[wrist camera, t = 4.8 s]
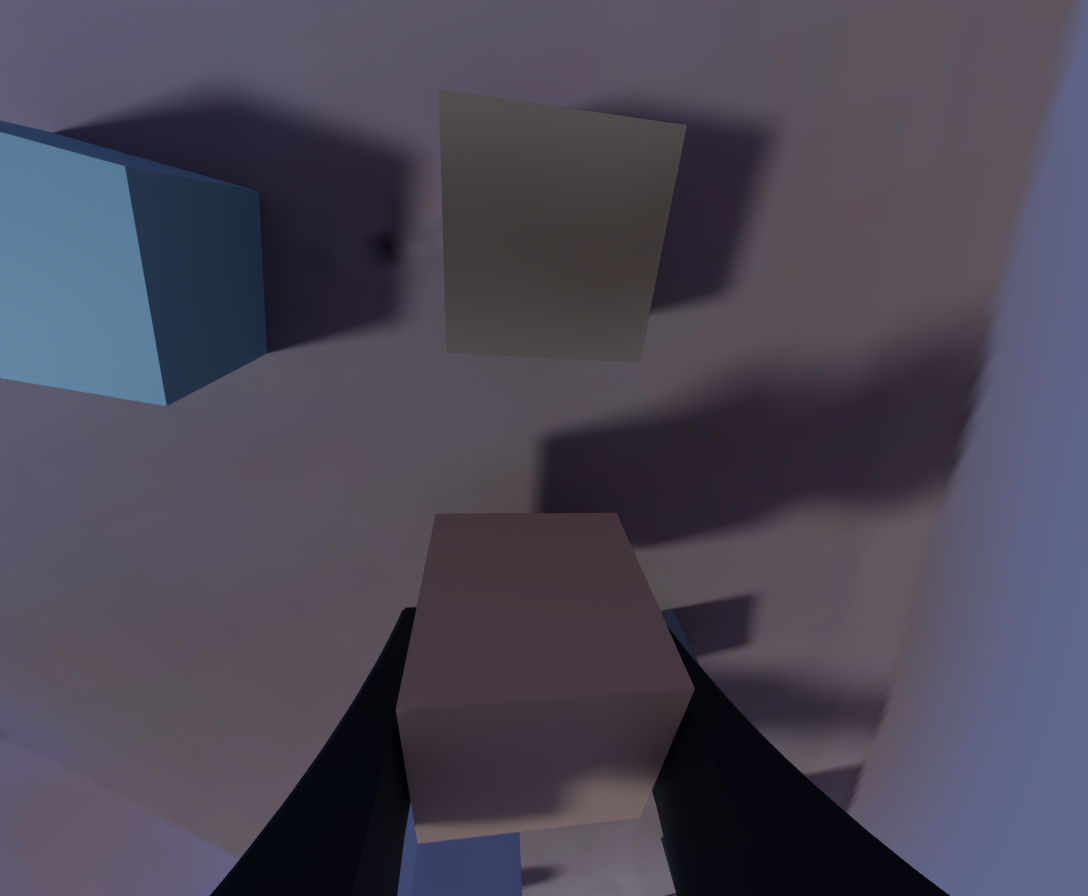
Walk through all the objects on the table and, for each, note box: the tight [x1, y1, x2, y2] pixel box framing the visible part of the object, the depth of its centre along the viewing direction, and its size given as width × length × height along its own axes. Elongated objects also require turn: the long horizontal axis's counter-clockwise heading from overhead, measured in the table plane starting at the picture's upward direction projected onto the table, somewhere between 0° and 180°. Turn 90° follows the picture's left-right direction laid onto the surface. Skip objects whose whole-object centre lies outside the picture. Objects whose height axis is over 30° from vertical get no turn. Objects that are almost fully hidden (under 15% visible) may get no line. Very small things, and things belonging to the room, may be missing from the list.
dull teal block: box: [0, 121, 267, 406], centre depth 8 cm, size 4×4×4 cm
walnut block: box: [439, 90, 687, 362], centre depth 9 cm, size 4×4×4 cm
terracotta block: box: [396, 513, 695, 844], centre depth 10 cm, size 5×5×5 cm
